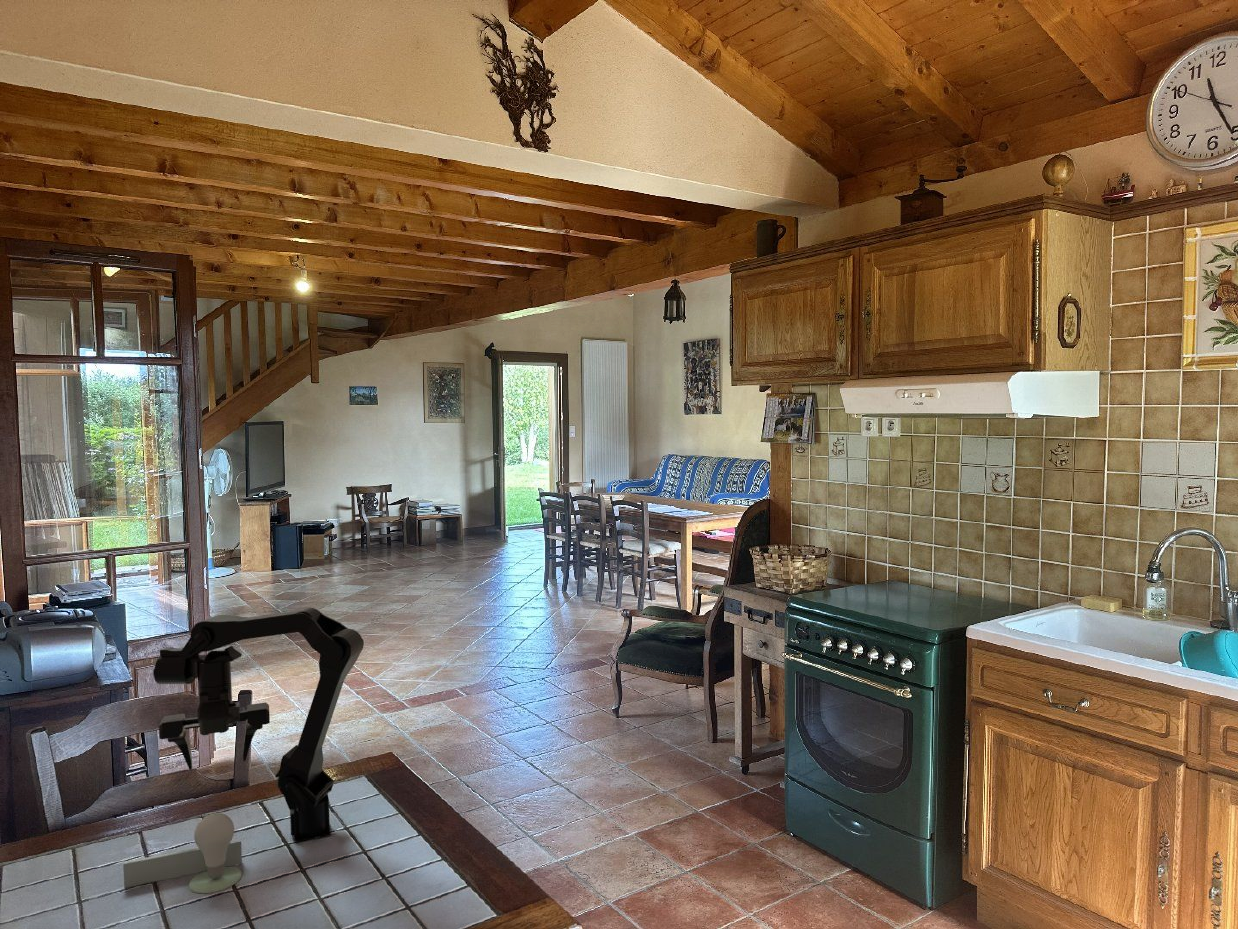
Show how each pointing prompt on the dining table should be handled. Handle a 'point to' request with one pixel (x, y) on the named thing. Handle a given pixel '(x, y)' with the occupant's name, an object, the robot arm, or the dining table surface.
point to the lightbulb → (214, 841)
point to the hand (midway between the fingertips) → (218, 764)
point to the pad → (215, 881)
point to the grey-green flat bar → (174, 865)
